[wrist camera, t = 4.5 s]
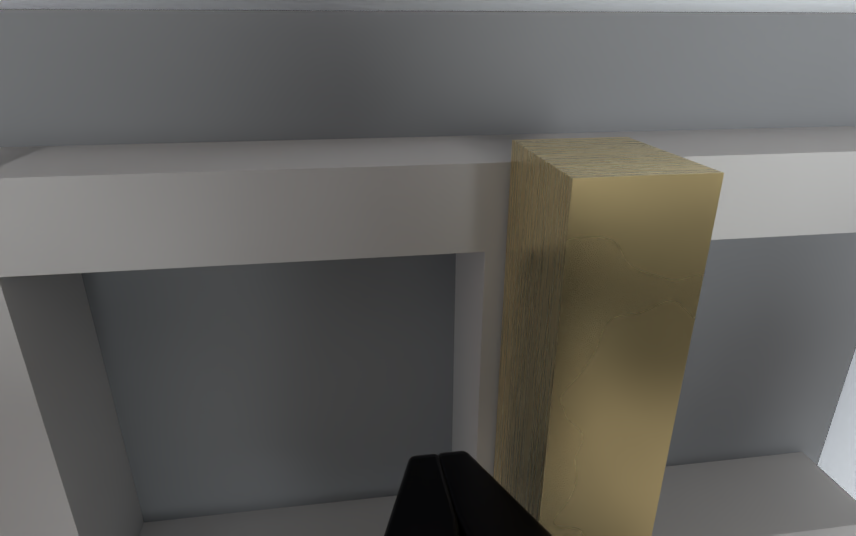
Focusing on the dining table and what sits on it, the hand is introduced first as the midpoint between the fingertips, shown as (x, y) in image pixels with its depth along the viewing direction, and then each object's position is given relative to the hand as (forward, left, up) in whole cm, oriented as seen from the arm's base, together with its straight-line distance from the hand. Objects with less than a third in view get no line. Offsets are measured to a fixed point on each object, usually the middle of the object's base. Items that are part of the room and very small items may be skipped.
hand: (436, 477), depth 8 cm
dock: (0, -1, -4) cm, 4 cm away
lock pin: (-1, -2, -1) cm, 2 cm away
